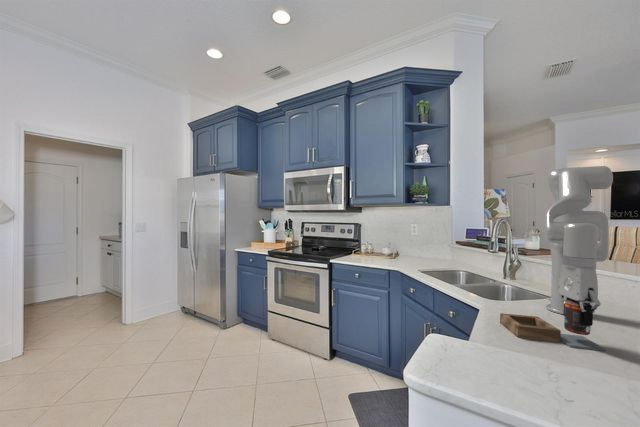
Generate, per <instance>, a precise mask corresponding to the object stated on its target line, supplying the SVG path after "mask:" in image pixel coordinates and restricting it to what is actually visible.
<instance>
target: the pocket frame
mask: <svg viewBox="0 0 640 427" xmlns="http://www.w3.org/2000/svg"><path fill="white" fill-rule="evenodd" d="M499 315H500V317H499V323H500V324H501V325H502V326H503V327H504V328H506V329H507V330H508V331H509V332H510V333H511V334H513V335H514V336H516V338H522V339H532V340H540V341H541V340H542V341H547V342H548V341H550V342H559V343H560V342H561V341H560V339H561V334H562V330H561V329H559V328H557V327H555V326H554V325H552V324H550V323H549V322H548V321H545V320H544V319H542V318H540V317H539V316H535V315H534V316H533V315H524V314H512V313H511V314H510V313H503V312H502V313H501V312H500V314H499Z"/></svg>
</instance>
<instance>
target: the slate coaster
mask: <svg viewBox="0 0 640 427" xmlns="http://www.w3.org/2000/svg"><path fill="white" fill-rule="evenodd" d="M560 342H562V344H564V345H566V346H567V347H569V348H575V349H585V350H591V351H600V352H601V351H602V352H606V351H607V349H606V348H604V347H603V346H602V345H599V344H598V343H596V342H594V341H593V340H590V339H589V338H587V337H585V335H579V334H576V335H575V334H568V333H561V339H560Z"/></svg>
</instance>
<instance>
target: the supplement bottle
mask: <svg viewBox="0 0 640 427" xmlns="http://www.w3.org/2000/svg"><path fill="white" fill-rule="evenodd" d="M584 301H587V299H585V300H584ZM584 304H585V306H587V305H588V304H587V303H584ZM579 311H581V307H580V303H579V301H575V300H573V299H569V300H567V301H565V316H564V320H563V321H564V323H563V325H564V326H563V327H564V329H565V330H566V331H568V332H571V333H572V334H576V335H580V336H589V335H590V334H591V326H589V325H581V324H579Z"/></svg>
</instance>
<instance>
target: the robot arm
mask: <svg viewBox="0 0 640 427" xmlns="http://www.w3.org/2000/svg"><path fill="white" fill-rule="evenodd" d="M547 178H548V179H547V180H548V186H549V190H550V192H551V193H552V196H553V198H554V203H553V204H552V205H551V206H550V207H549V208H548V209H547V210H546V212H545V213H544V216H543V237H544V238H543V239H544V240H545V241H546V242H548V243H549V250H550V258H551V286H550V287H551V288H550V289H551V290H550V291H551V292H550V297H548V299H547V300H548V301H550V304H549V303H548V304H546V305H545V308H546V309H547V310H549V311H550V312H553V313H556V314H560V315H563V316H564V317H565V301H567V300H569V299H573V300H575V301H579V303H580V307H581V311H579V324H581V325H589V326H590V327H592V326H593V324H594V314H595V311H596V310H597V308H598V307H600V306H601V302H600V300H599V284H598V283H599V282H598V274H597V262H598V263H599V262H600V263H601V262H605V261H606V260H607V259H608V258H609V252H610V251H609V249H610V246H609V244H610V242H609V239H610V235H609V234H610V233H609V230H610V228H609V220H608V216H607V214H606V213H604V212H603V211H601V210H600V211H599V210H584V209H586V208H587V207H589V206H590V205H591V203H592V195H591V190H608V189H609V188H611V187H612V185H613V182H614V175H613V172H612V170H611V168H610V167H609V166H606V165H601V166H600V165H595V166H581V167H580V166H578V167H563V168H557V169H553V170H552V171H550V172H549V173H548V176H547ZM585 299H587V301H584V300H585ZM584 303H587V304H588V305H587V306H585V304H584Z"/></svg>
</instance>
